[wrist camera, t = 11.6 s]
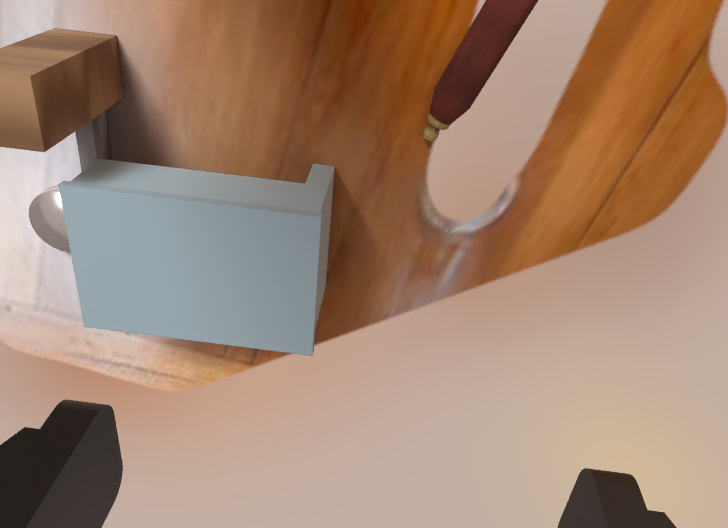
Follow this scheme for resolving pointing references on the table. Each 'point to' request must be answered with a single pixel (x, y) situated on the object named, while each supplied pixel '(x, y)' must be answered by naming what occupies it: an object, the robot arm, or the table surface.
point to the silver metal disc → (50, 219)
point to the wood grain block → (59, 91)
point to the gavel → (475, 61)
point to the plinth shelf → (200, 253)
